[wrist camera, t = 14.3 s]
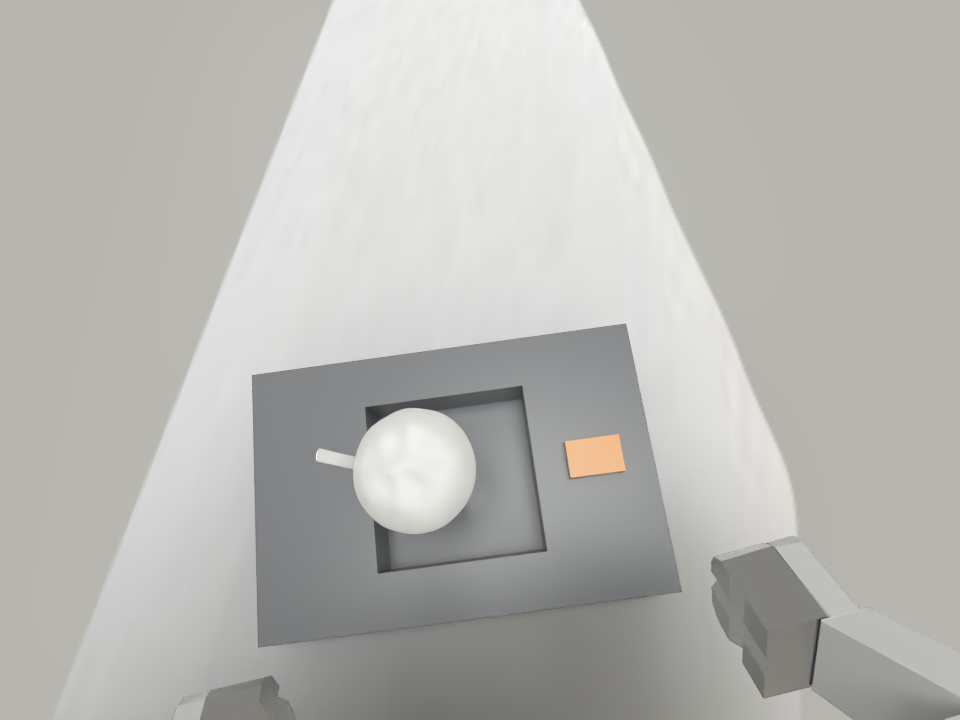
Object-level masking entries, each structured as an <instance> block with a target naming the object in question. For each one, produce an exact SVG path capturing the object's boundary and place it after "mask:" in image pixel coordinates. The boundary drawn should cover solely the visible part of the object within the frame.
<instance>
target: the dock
mask: <svg viewBox="0 0 960 720" xmlns="http://www.w3.org/2000/svg"><path fill="white" fill-rule="evenodd" d="M252 396H253V440H254V484H255V528H256V572H257V616H258V648H259V647H266V646H274V645H281V644H289V643H297V642H304V641H312V640H319V639H327V638H335V637H342V636H350V635H357V634H365V633H373V632H380V631H388V630H395V629H403V628H411V627H418V626H426V625H433V624H441V623H449V622H456V621H464V620H471V619H479V618H487V617H494V616H502V615H509V614H517V613H525V612H532V611H540V610H548V609H555V608H563V607H570V606H578V605H586V604H593V603H601V602H608V601H616V600H624V599H631V598H639V597H646V596H654V595H662V594H669V593H677V592H682V591H681V586H680V581H679V576H678V571H677V567H676V562H675V557H674V552H673V547H672V542H671V538H670V533H669V528H668V523H667V518H666V514H665V509H664V504H663V499H662V494H661V490H660V485H659V480H658V475H657V470H656V466H655V461H654V456H653V451H652V446H651V442H650V437H649V432H648V427H647V422H646V418H645V413H644V408H643V403H642V398H641V393H640V389H639V384H638V379H637V374H636V369H635V365H634V360H633V355H632V350H631V345H630V341H629V336H628V331H627V326H626V324H620V325H612V326H605V327H598V328H591V329H583V330H576V331H569V332H562V333H554V334H547V335H540V336H533V337H525V338H518V339H511V340H504V341H497V342H489V343H482V344H475V345H468V346H460V347H453V348H446V349H439V350H431V351H424V352H417V353H410V354H402V355H395V356H388V357H381V358H373V359H366V360H359V361H352V362H344V363H337V364H330V365H323V366H315V367H308V368H301V369H294V370H286V371H279V372H272V373H265V374H257V375H252ZM406 408H420V409H428V410H433V411H437V412H440V413H442V414H444V415H446V416H448V417H449V418H451V419H452V420H453V421H455V422H456V423H457V424H458V425H459V426H460V427H461V429H462V430H463V431H464V433H465V434H466V436H467V437H468V439H469V441H470V443H471V446H472V448H473V451H474V455H475V460H476V479H475V484H474V488H473V491H472V494H471V496H470V498H469V500H468V502H467V503H466V505H465V506H464V508H463V509H462V510H461V511H460V513H459V514H458V515H457V516H456V517H455V518H454V519H453V520H452V521H450V522H449V523H448V524H446V525H445V526H443V527H442V528H439V529H437V530H435V531H432V532H428V533H423V534H406V533H400V532H396V531H393V530H390V529H387V528H385V527H383V526H382V525H380V524H379V523H377V522H376V521H375V520H374V519H373V518H372V517H371V516H370V515H369V514H368V513H367V512H366V511H365V509H364V508H363V507H362V505H361V503H360V502H359V500H358V497H357V495H356V492H355V488H354V482H353V469H349V468H344V467H339V466H334V465H329V464H325V463H320V462H316V461H315V458H316V452H317V449H318V448H321V449H325V450H330V451H334V452H338V453H342V454H347V455H351V456H356V453H357V450H358V447H359V445H360V442H361V440H362V439H363V437H364V435H365V434H366V432H367V431H368V430H369V429H370V428H371V427H372V426H373V425H374V424H376V423H377V422H378V421H380V420H382V419H383V418H385V417H387V416H388V415H390V414H392V413H394V412H396V411H399V410H402V409H406Z"/></svg>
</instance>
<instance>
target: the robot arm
mask: <svg viewBox="0 0 960 720" xmlns="http://www.w3.org/2000/svg"><path fill="white" fill-rule="evenodd" d="M711 571H712V573H713V574H714V576H715V578H716V579H717V581H716V582H715V584H714V585H713V586H712V601H713V605H714V608H715V612H716V615H717V618H718V620H719V622H720V624H721V626H722V628H723V630H724V632H725V634H726V635H727V637H728V639H729V640H730V641H732V642H733V643H735V644H737V645H738V646H740V647H742V648H743V658H742V663H743V665H744V666H745V668H746V670H747V671H748V673H749V675H750V676H751V678H752V680H753V681H754V683H755V685H756V687H757V688H758V690H759V692H760V693H761V695H762V697H763V698H767V697H771V696H776V695H780V694H784V693H788V692H792V691H796V690H800V689H804V688H808V687H812V690H813V691H814V692H816V693H817V694H819V695H820V696H821V697H823V698H824V699H825V700H827V701H828V702H830V703H831V704H832V705H834V706H835V707H836V708H838V709H839V710H841V711H842V712H843V713H845V714H846V715H848V716H849V717H850V718H852V719H853V720H960V652H958V651H956V650H954V649H952V648H950V647H948V646H946V645H944V644H942V643H940V642H938V641H936V640H934V639H932V638H930V637H928V636H926V635H924V634H922V633H919V632H918V631H916V630H914V629H912V628H909V627H907V626H906V625H904V624H902V623H899V622H897V621H895V620H893V619H891V618H889V617H887V616H885V615H883V614H881V613H879V612H877V611H875V610H873V609H871V608H869V607H866V608H862V609H859V607H858V606H857V605H856V604H855V603H854V602H853V601H852V599H851V598H850V597H849V596H848V595H847V594H846V592H845V591H844V590H843V589H842V588H841V586H840V585H839V584H838V583H837V582H836V581H835V579H834V578H833V577H832V576H831V575H830V574H829V572H828V571H827V570H826V569H825V568H824V567H823V565H822V564H821V563H820V562H819V561H818V560H817V558H816V557H815V556H814V555H813V554H812V553H811V551H810V550H809V549H808V548H807V547H806V546H805V545H804V543H803V542H802V541H801V540H800V539H799V538H797V537H795V536H789V537H786V538H782V539H779V540H775V541H772V542H768V543H761V544H758V545H754V546H750V547H747V548H743V549H740V550H736V551H733V552H729V553H726V554H722V555H719V556H715V557H714V558H713V560H712V561H711ZM278 690H279V685H278V684H277V683H276V681H275V680H274V678H273V677H272V676H268V677H264V678H260V679H256V680H252V681H248V682H243V683H239V684H235V685H231V686H227V687H223V688H219V689H215V690H210V691H206V692H202V693H199V694H195V695H191V696H187V697H183V699H182V700H181V702H180V703H179V705H178V706H177V708H176V710H175V713H174V716H173V720H296V717H295V714H294V711H293V708H292V707H291V705H290V703H289V702H288V701H287V700H285V699H282V698H280V697H278Z"/></svg>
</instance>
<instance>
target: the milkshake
mask: <svg viewBox="0 0 960 720" xmlns="http://www.w3.org/2000/svg"><path fill="white" fill-rule="evenodd" d="M315 461H316V462H320V463H325V464H329V465H334V466H339V467H344V468H349V469H353V482H354V488H355V492H356V495H357V497H358V500H359V502H360V503H361V505H362V507H363V508H364V509H365V511H366V512H367V513H368V514H369V515H370V516H371V517H372V518H373V519H374V520H375V521H376V522H377V523H379V524H380V525H382V526H383V527H385V528H387V529H390V530H393V531H396V532H400V533H406V534H423V533H428V532H432V531H435V530H437V529H439V528H442V527H443V526H445V525H446V524H448V523H449V522H450V521H452V520H453V519H454V518H455V517H456V516H457V515H458V514H459V513H460V511H461V510H462V509H463V508H464V506H465V505H466V503H467V502H468V500H469V498H470V496H471V494H472V491H473V488H474V484H475V479H476V460H475V455H474V451H473V448H472V446H471V443H470V441H469V439H468V437H467V436H466V434H465V433H464V431H463V430H462V429H461V427H460V426H459V425H458V424H457V423H456V422H455V421H453V420H452V419H451V418H449V417H448V416H446V415H444V414H442V413H440V412H437V411H433V410H428V409H420V408H406V409H402V410H399V411H396V412H394V413H392V414H390V415H388V416H387V417H385V418H383V419H382V420H380V421H378V422H377V423H376V424H374V425H373V426H372V427H371V428H370V429H369V430H368V431H367V432H366V434H365V435H364V437H363V439H362V440H361V442H360V445H359V447H358V450H357V453H356V456H351V455H347V454H342V453H338V452H334V451H330V450H325V449H321V448H318V449H317V452H316V458H315Z"/></svg>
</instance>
